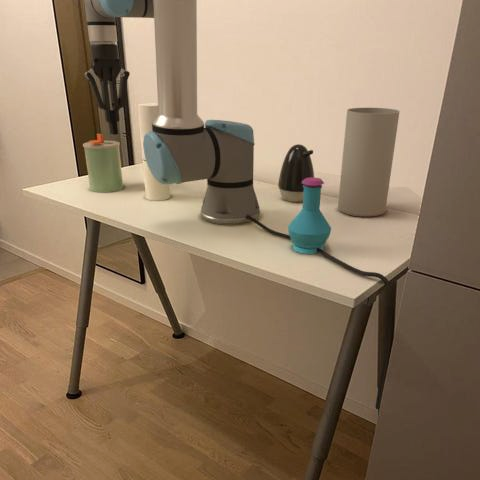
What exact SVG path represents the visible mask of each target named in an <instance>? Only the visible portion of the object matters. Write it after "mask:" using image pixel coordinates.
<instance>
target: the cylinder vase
mask: <svg viewBox="0 0 480 480" xmlns="http://www.w3.org/2000/svg"><path fill="white" fill-rule="evenodd" d="M400 112H401V111H400V110H398V109H396V108H395V109H393V108H388V107H352V108H351V107H350V108H348V109H346V117H345V128H344V129H345V130H344V139H343V147H342V157H341V169H340V179H339V180H340V181H339V191H338V202H337V209H338V211H340V212H341V213H343V214H345V215H347V216H348V215H349V216H351V217H360V218H373V217H378V216H381V215H383V214H384V213H385V212H386V210H387V203H388V196H389V191H390V190H389V189H390V183H391V175H392V168H393V162H394V161H393V160H394V153H395V147H396V140H397V133H398V125H399V118H400Z"/></svg>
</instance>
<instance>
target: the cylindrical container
mask: <svg viewBox="0 0 480 480" xmlns="http://www.w3.org/2000/svg"><path fill="white" fill-rule="evenodd" d="M137 113H138V114H137V115H138V125H139V137H140V147H141V148H140V149H141V156H142V157H141V158H142V169H143V170H142V171H143V180H144V192H145V193H144V194H145V199H146V200H150V201H166V200H168V199H171V184H162V183H160V182H158V181H157V180H156V179H155V178H154V176H153V175H152V173H151V171H150V169H149V167H148V164H147V161H146V158H145V154H144V148H143V141H144V136H145V134H146V133H148V132H150V131H151V132H152V121H153V120H154V118H155V117H156V116H157V115H158V102H143V103H138V104H137Z"/></svg>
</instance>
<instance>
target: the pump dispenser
mask: <svg viewBox="0 0 480 480" xmlns="http://www.w3.org/2000/svg"><path fill="white" fill-rule="evenodd" d="M313 154H314V150H313V149H310V150H308V149H307V147H306V146H304V145H303V144H300V143H299V144H293V145H292V146H291V147H290V148H289V149H288V151H287V152H286V155H285V156H284V158H283V161H282V164H281V168H280V172H279V177H278V189H279V193H280V195H281V196H282V198H283V199H284V200H286V201H288V202H291V203H301V202H302V203H303V192H304V188H303V185H304V184H303V183H302V181H303V180H304V179H305V178H310V177H314V178H315V171H314V166H313V161H312V158H311V155H313Z"/></svg>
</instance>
